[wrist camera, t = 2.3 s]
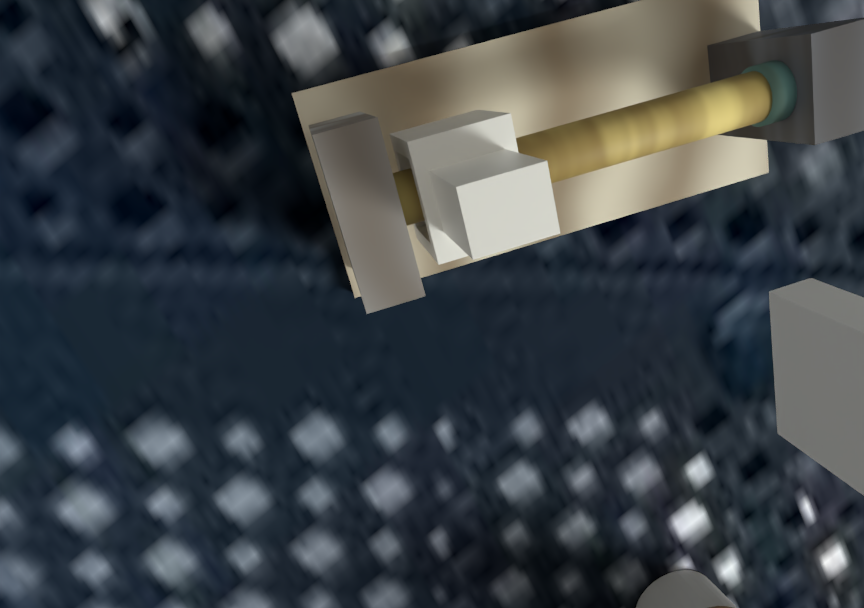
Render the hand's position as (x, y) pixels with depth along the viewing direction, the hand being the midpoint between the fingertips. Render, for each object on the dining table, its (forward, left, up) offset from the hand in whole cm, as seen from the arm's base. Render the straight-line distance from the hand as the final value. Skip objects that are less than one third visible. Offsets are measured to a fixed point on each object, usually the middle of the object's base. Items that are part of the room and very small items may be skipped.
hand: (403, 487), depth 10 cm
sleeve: (+6, +1, -20) cm, 21 cm away
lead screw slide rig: (+12, +1, -23) cm, 26 cm away
